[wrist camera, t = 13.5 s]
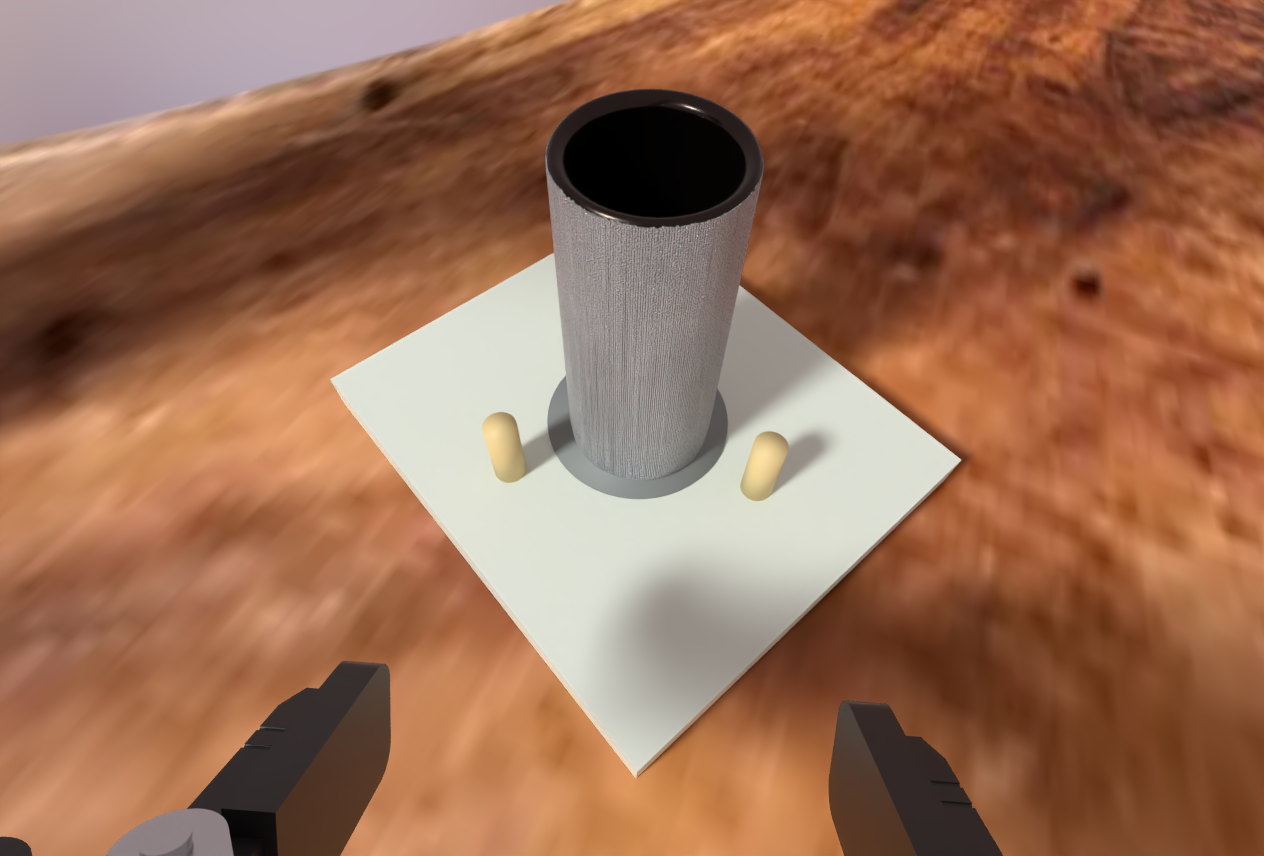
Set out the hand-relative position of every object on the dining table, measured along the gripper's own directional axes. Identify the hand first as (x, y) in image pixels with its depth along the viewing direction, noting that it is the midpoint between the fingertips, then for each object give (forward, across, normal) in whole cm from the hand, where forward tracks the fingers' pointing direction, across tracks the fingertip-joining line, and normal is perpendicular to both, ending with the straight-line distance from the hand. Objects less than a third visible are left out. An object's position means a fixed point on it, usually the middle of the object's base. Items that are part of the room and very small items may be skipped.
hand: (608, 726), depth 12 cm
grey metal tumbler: (+12, 0, -3) cm, 12 cm away
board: (+13, 0, -2) cm, 13 cm away
